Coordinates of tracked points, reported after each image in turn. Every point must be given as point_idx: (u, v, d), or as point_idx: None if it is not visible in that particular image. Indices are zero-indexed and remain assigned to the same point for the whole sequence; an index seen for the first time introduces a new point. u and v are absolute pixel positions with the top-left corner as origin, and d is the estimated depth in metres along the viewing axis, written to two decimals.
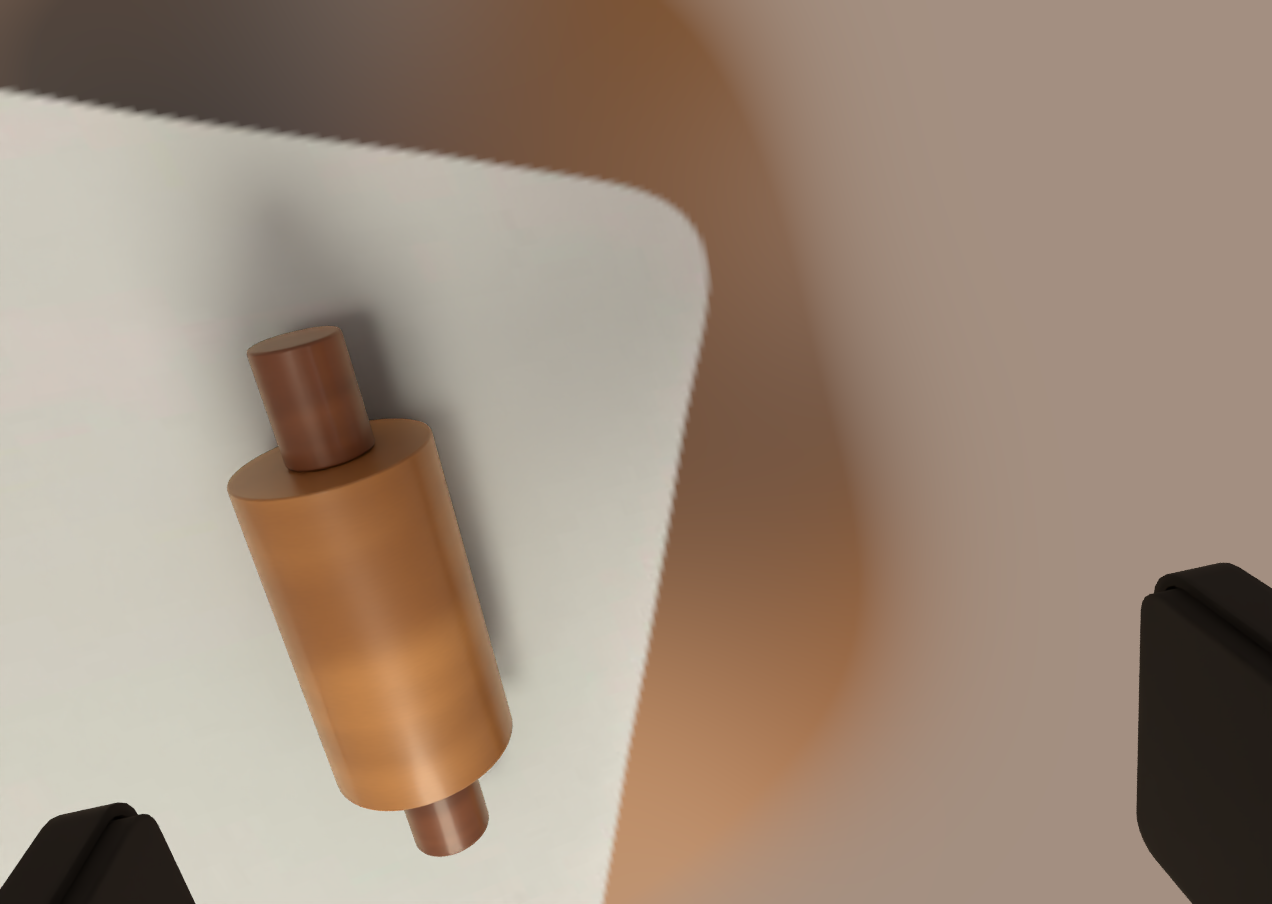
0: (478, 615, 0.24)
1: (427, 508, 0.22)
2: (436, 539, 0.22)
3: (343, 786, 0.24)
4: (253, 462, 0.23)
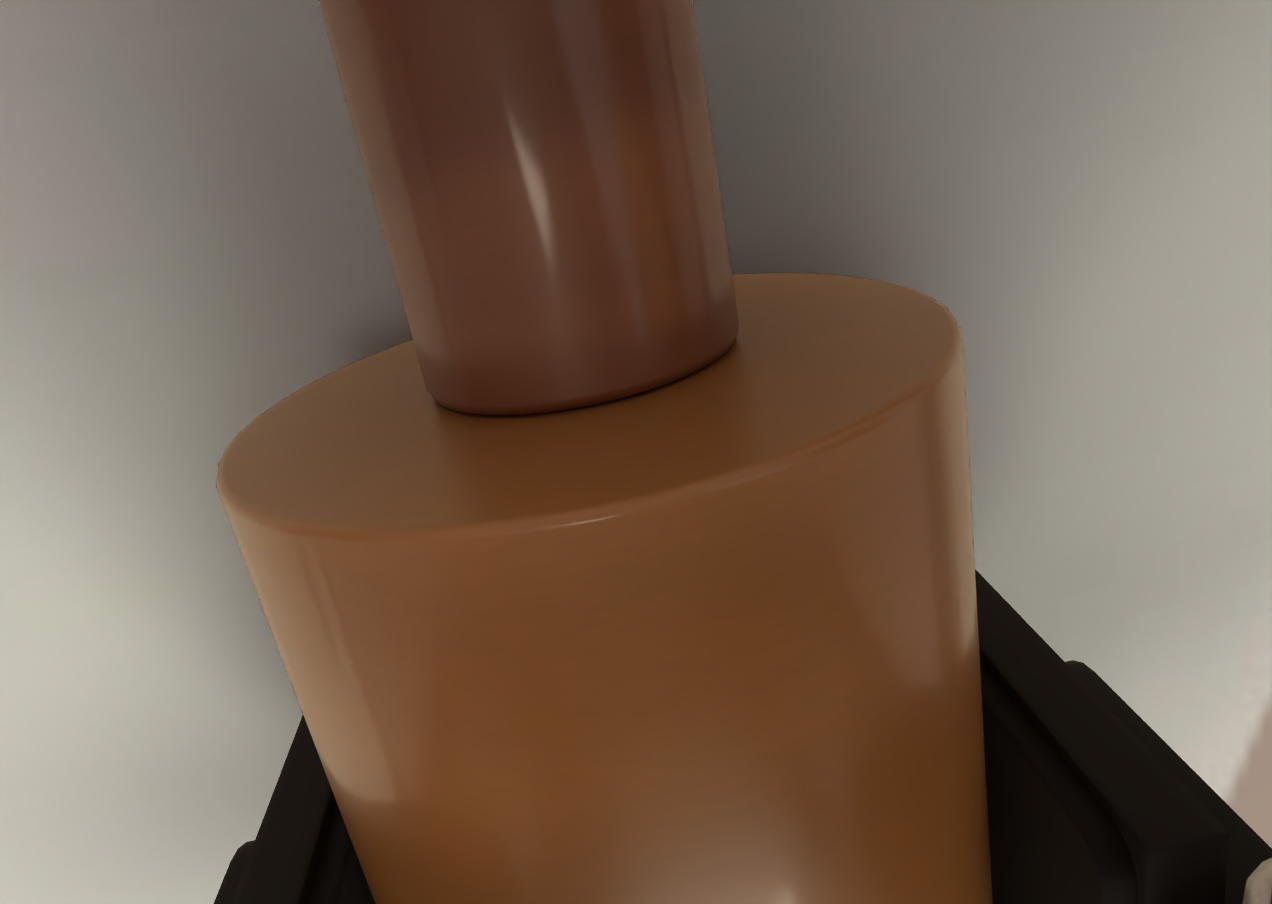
0: None
1: (968, 563, 0.06)
2: (975, 674, 0.06)
3: None
4: (312, 391, 0.07)
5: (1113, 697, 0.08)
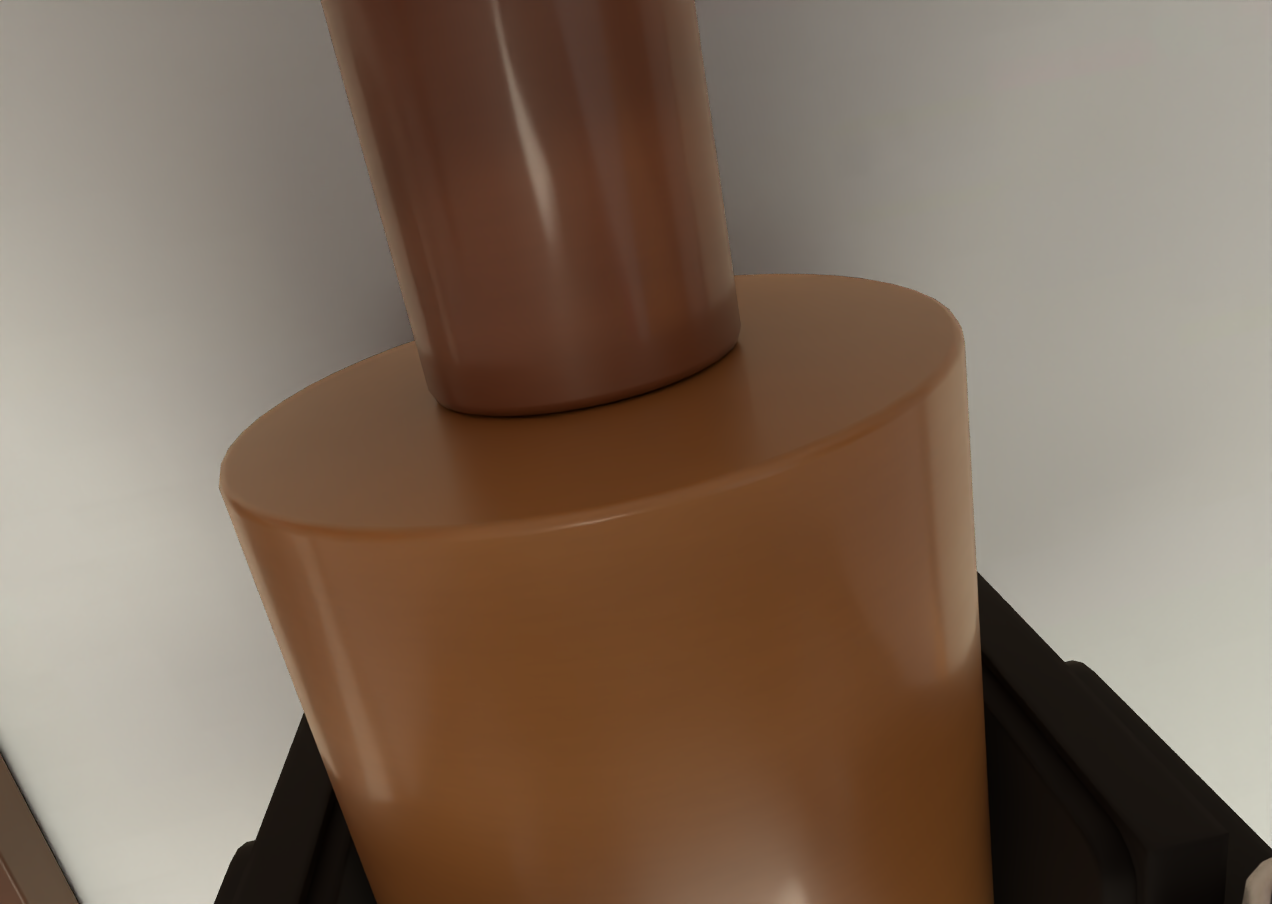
0: None
1: (970, 564, 0.06)
2: (976, 674, 0.06)
3: None
4: (313, 391, 0.07)
5: (1113, 697, 0.08)
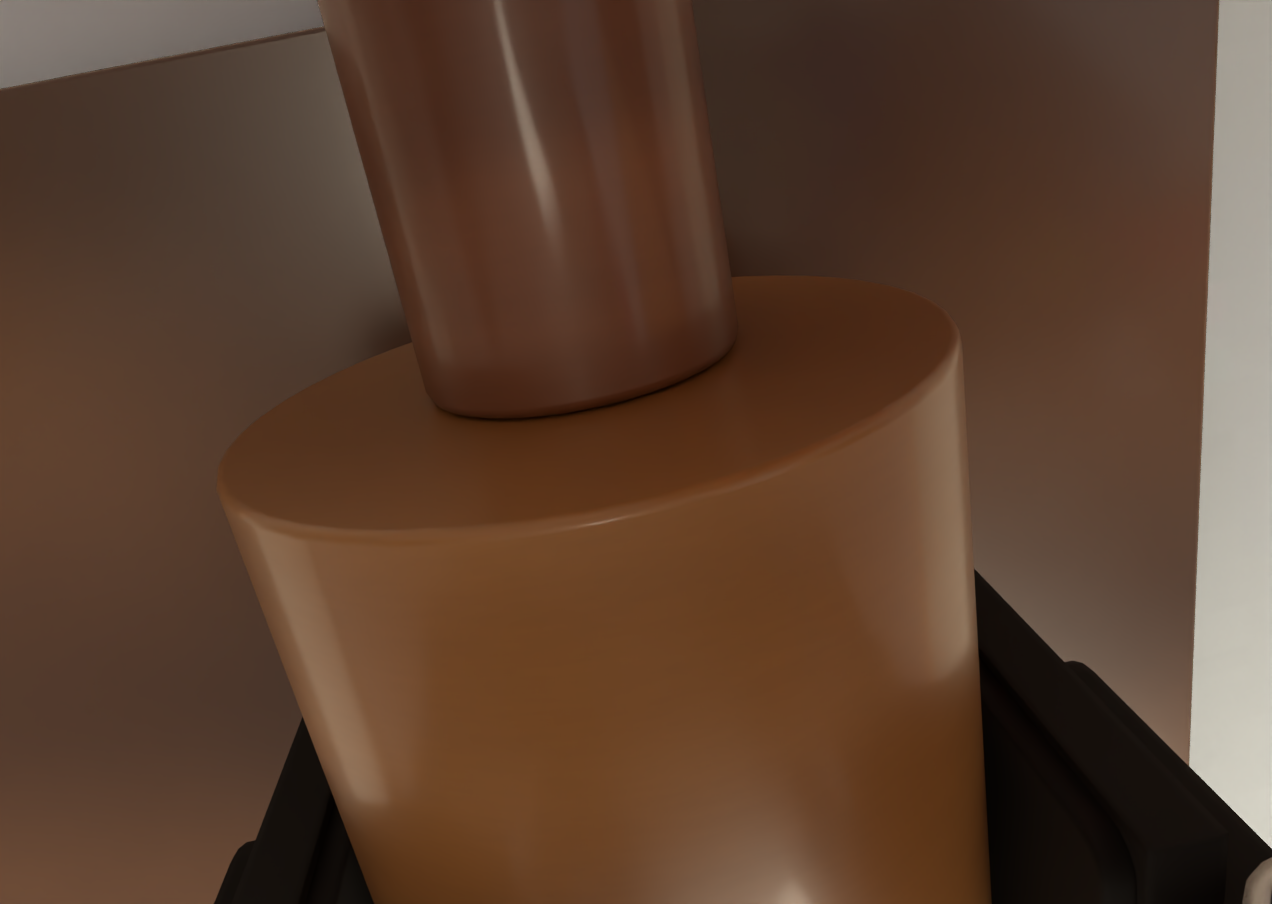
0: None
1: (968, 566, 0.06)
2: (974, 677, 0.06)
3: None
4: (311, 393, 0.07)
5: (1113, 697, 0.08)
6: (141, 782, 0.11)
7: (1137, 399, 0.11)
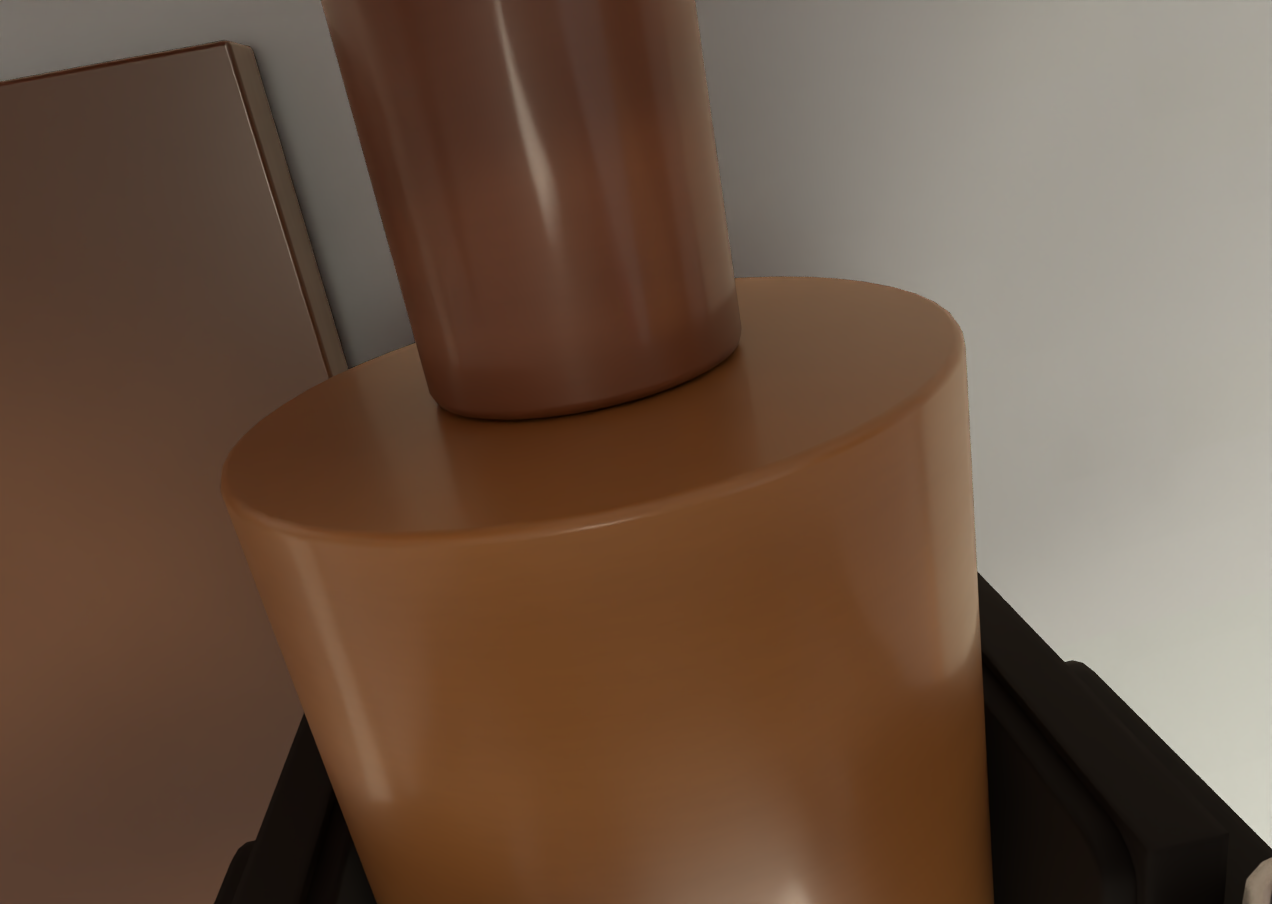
0: None
1: (971, 567, 0.06)
2: (977, 677, 0.06)
3: None
4: (314, 394, 0.07)
5: (1113, 697, 0.08)
6: None
7: None
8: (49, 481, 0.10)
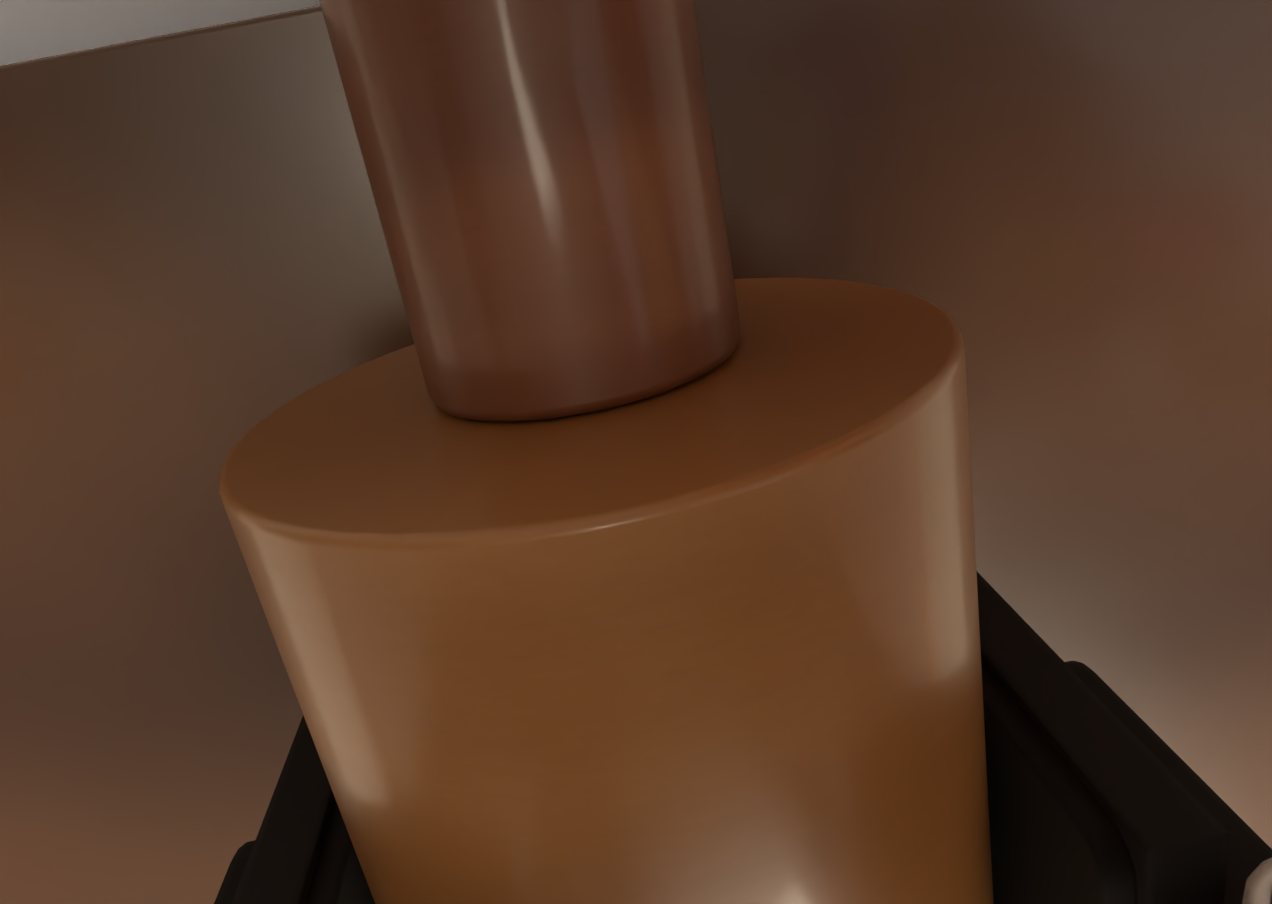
0: None
1: (970, 569, 0.06)
2: (976, 680, 0.06)
3: None
4: (313, 396, 0.07)
5: (1113, 697, 0.08)
6: (245, 754, 0.11)
7: (1262, 371, 0.11)
8: (1059, 278, 0.10)
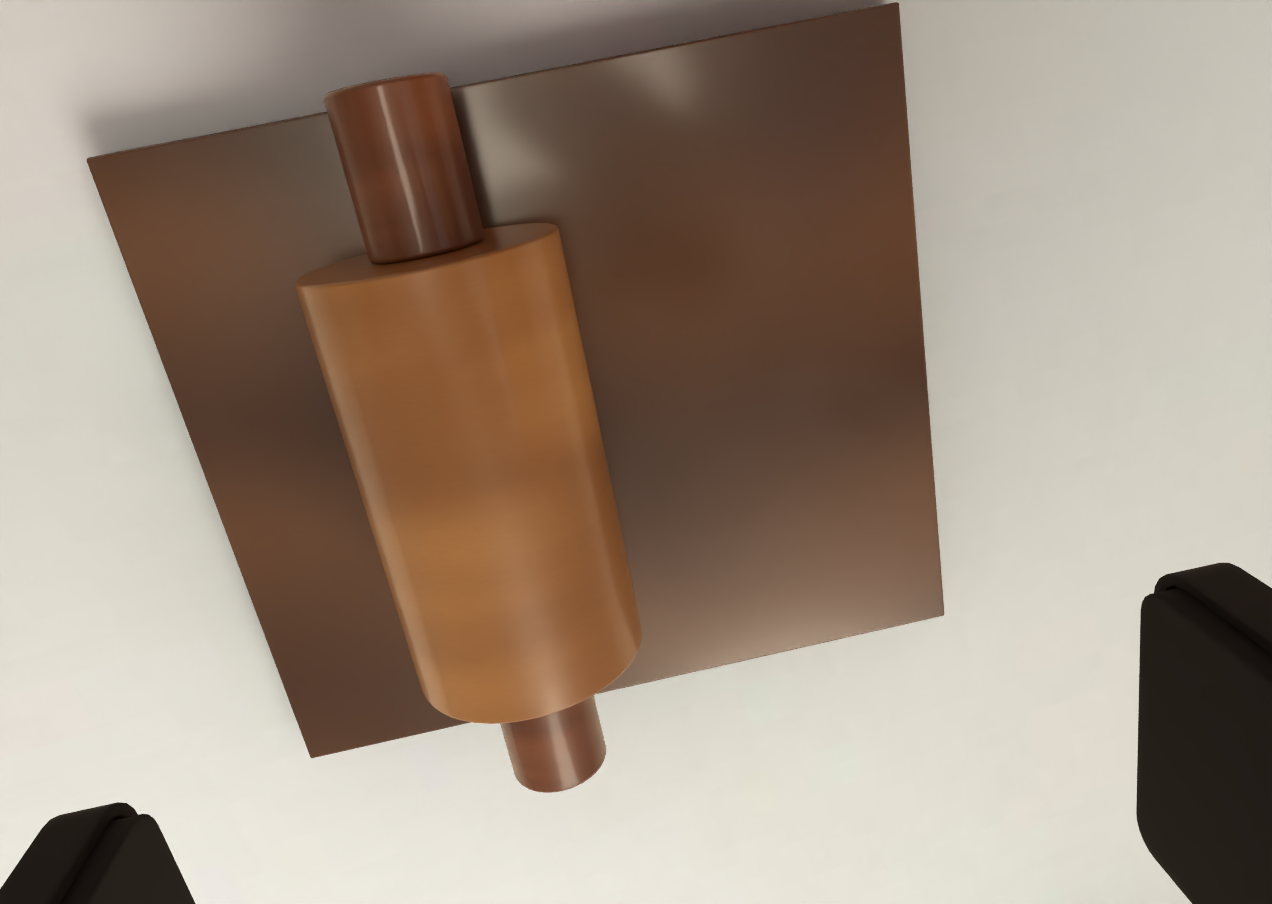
0: (558, 520, 0.17)
1: (461, 348, 0.16)
2: (473, 394, 0.16)
3: None
4: None
5: None
6: None
7: (883, 266, 0.21)
8: (773, 218, 0.20)
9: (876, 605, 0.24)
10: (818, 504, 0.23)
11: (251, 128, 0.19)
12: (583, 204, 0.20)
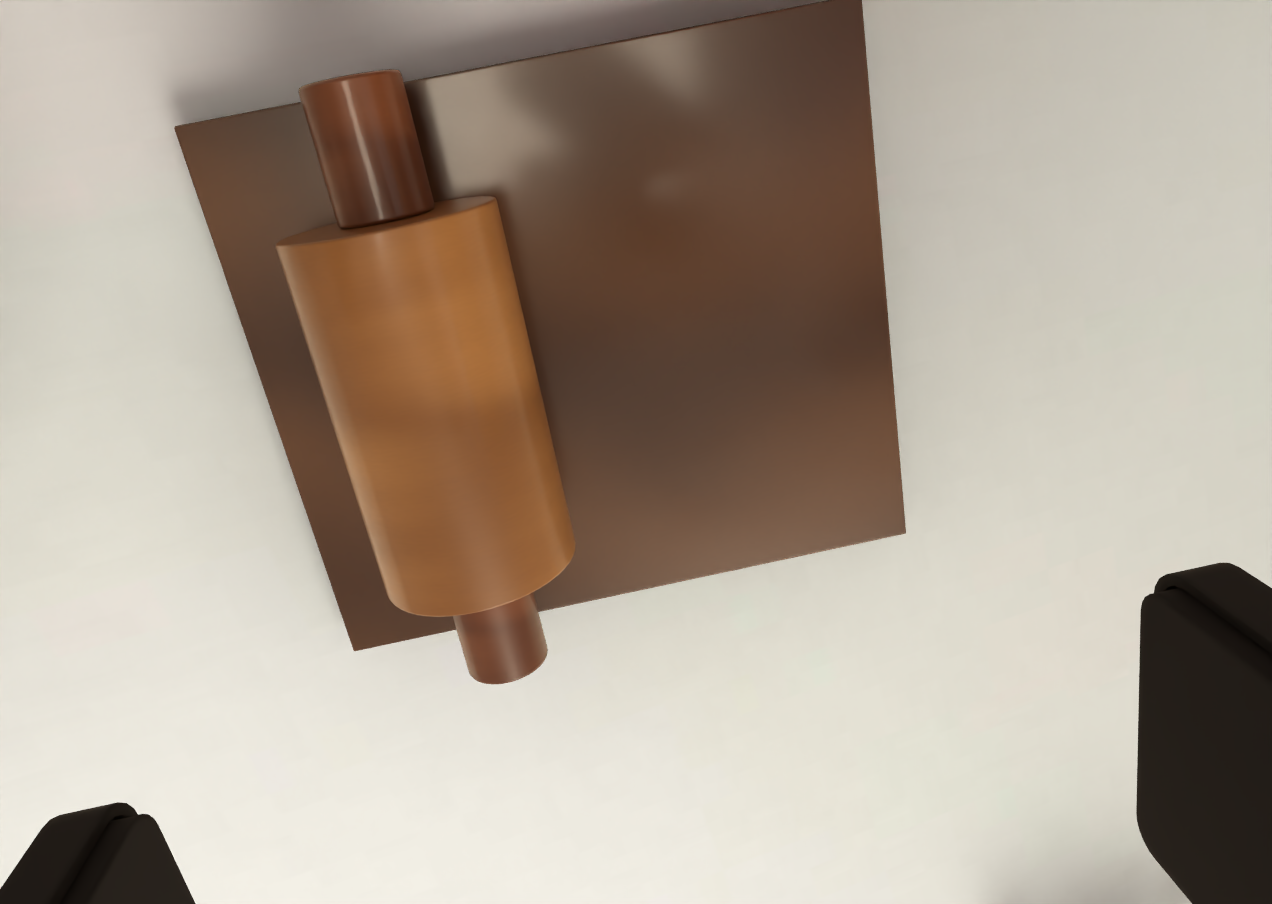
0: (421, 464, 0.20)
1: (334, 310, 0.19)
2: (346, 348, 0.20)
3: None
4: None
5: None
6: None
7: (849, 223, 0.25)
8: (754, 181, 0.24)
9: (845, 523, 0.28)
10: (794, 432, 0.26)
11: None
12: (591, 167, 0.23)
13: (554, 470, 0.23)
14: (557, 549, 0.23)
